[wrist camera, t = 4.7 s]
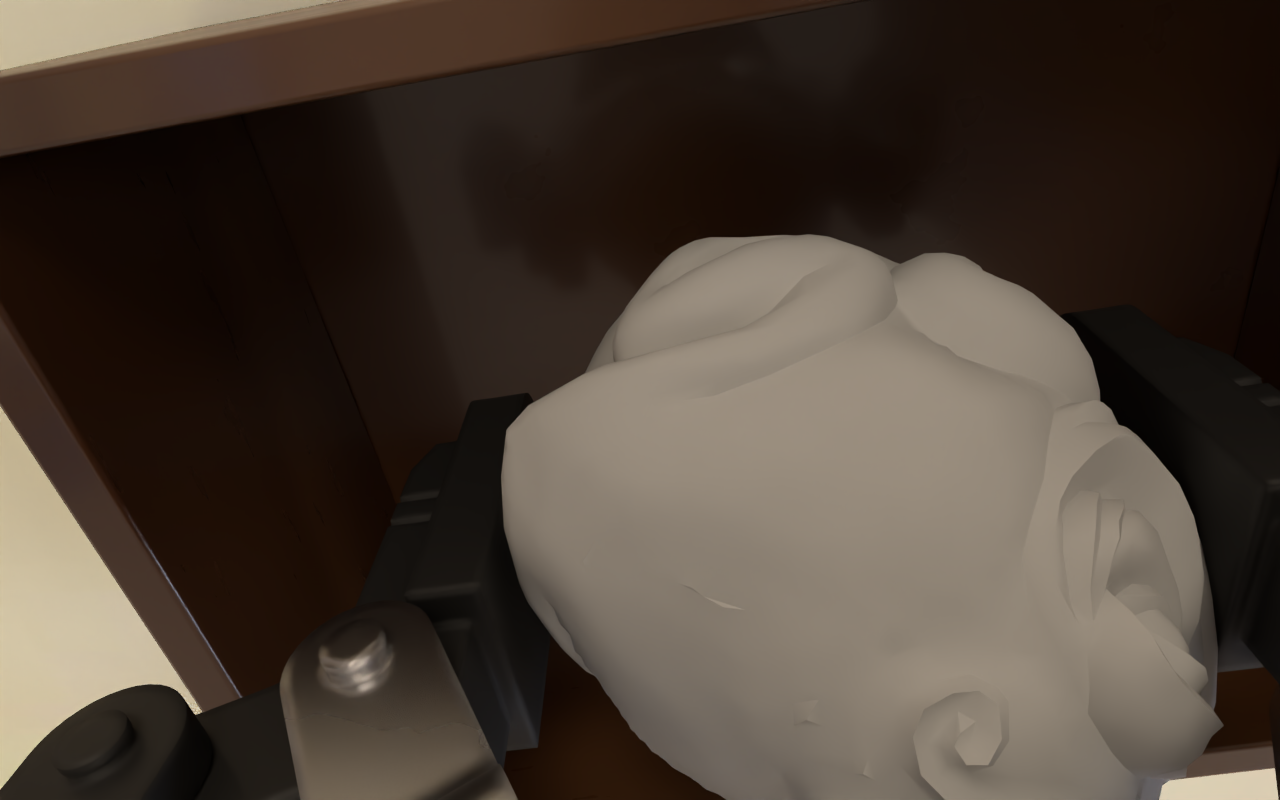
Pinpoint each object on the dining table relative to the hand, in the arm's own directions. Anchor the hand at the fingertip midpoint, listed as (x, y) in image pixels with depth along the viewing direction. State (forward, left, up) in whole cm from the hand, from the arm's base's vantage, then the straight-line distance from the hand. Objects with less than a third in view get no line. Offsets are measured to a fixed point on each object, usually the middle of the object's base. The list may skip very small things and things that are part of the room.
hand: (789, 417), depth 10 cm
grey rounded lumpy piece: (0, 0, -2) cm, 2 cm away
